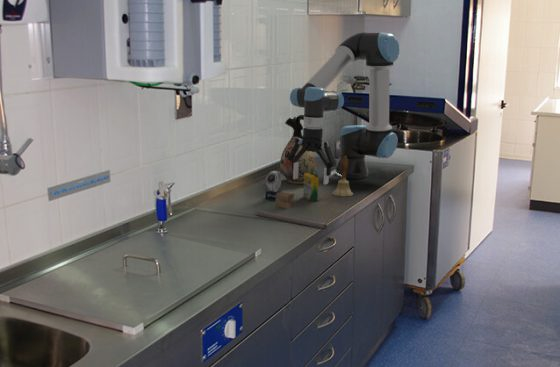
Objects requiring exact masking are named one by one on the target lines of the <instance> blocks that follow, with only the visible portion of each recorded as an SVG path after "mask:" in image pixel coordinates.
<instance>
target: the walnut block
mask: <svg viewBox="0 0 560 367" xmlns="http://www.w3.org/2000/svg"><path fill="white" fill-rule="evenodd" d="M294 203H295V193H294V192H289V191H284V190H282V192H280V193H277V194H276V200H275V207H276V208H282V209H286V210H287V209H290V208H292V207H294V205H295V204H294Z"/></svg>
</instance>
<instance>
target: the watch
mask: <svg viewBox="0 0 560 367" xmlns="http://www.w3.org/2000/svg"><path fill="white" fill-rule="evenodd" d="M265 182H266V186H267V190H266V191H265V197H264V198H265V200H270V201H276V194H277V193H280V192H282V191H283V190H281V189H280V188H281V185H282V184H281V183H282V175H281V171H277V170H271V171H270V172H269V173H268V174H266V176H265Z"/></svg>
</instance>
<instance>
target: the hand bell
mask: <svg viewBox="0 0 560 367" xmlns="http://www.w3.org/2000/svg"><path fill="white" fill-rule="evenodd" d="M347 167H348V159H347V156H344V157H343V159H342V177H341V179H339V180H338V181H337V185H336V188H335V190H334V191H333V192H332V195H334V196H336V197H337V196H338V197H352V196H353V195H354V193H353V191H351V188H350V182H349V180H347V178H346V170H347Z"/></svg>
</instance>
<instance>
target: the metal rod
mask: <svg viewBox="0 0 560 367" xmlns="http://www.w3.org/2000/svg"><path fill="white" fill-rule="evenodd" d="M257 215H258V216H259V217H262V218H267V219H273V220H277V221H282V222H288V223H292V224H297V225H302V226H308V227H311V228H317V229H322V230H325V229H327V224H326V223H323V222H318V221H312V220H308V219H304V218H297V217H293V216H292V217H291V216H287V215H282V214H277V213H272V212H267V211H261V210H257V213H256V216H257Z"/></svg>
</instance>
